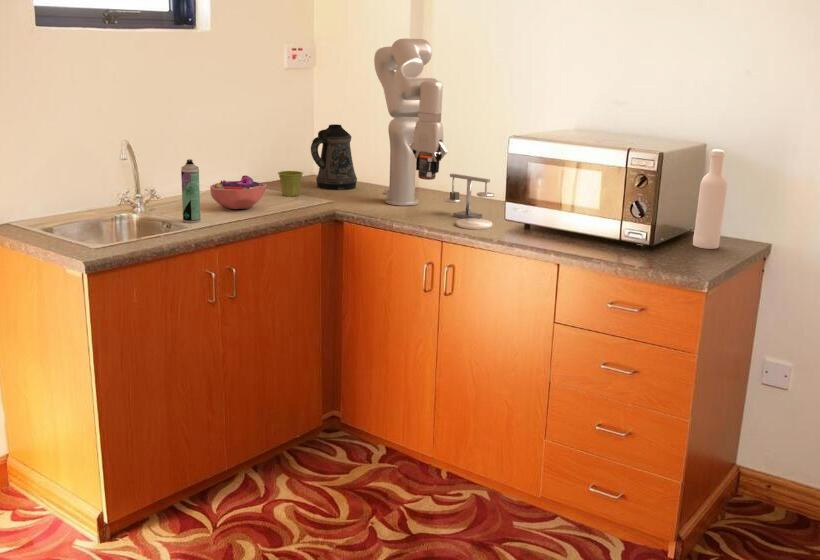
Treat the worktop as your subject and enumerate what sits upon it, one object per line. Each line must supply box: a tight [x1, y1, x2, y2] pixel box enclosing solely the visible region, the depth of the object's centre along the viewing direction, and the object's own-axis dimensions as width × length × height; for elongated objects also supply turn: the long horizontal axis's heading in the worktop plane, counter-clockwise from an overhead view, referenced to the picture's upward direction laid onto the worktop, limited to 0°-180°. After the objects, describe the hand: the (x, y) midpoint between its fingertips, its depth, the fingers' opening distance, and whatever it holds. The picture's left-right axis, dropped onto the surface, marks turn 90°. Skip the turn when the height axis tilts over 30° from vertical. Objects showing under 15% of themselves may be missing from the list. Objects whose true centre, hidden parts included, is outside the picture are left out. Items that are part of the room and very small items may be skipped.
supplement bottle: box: [417, 152, 437, 181], centre depth 293 cm, size 6×6×11 cm
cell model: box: [209, 175, 268, 210], centre depth 301 cm, size 17×20×11 cm
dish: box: [455, 218, 493, 231], centre depth 288 cm, size 12×12×1 cm
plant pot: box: [277, 170, 304, 198], centre depth 329 cm, size 9×9×9 cm
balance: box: [443, 173, 495, 219], centre depth 300 cm, size 20×6×14 cm, turn 50°
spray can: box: [180, 158, 201, 224], centre depth 277 cm, size 6×6×20 cm
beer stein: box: [310, 123, 358, 191], centre depth 347 cm, size 16×19×25 cm
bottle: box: [692, 149, 728, 250], centre depth 266 cm, size 8×8×30 cm
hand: (427, 170), depth 294 cm, fingers closed on supplement bottle, 6 cm apart
